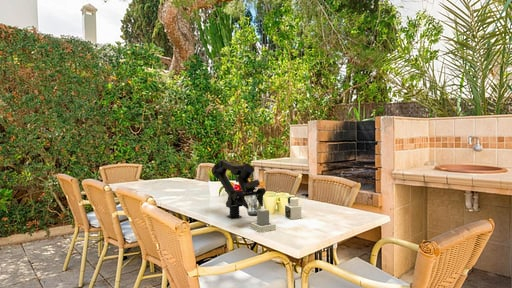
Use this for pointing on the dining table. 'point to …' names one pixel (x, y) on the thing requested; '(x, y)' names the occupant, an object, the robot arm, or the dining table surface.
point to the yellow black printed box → (293, 208)
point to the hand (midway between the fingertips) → (255, 207)
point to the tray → (263, 227)
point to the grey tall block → (262, 217)
